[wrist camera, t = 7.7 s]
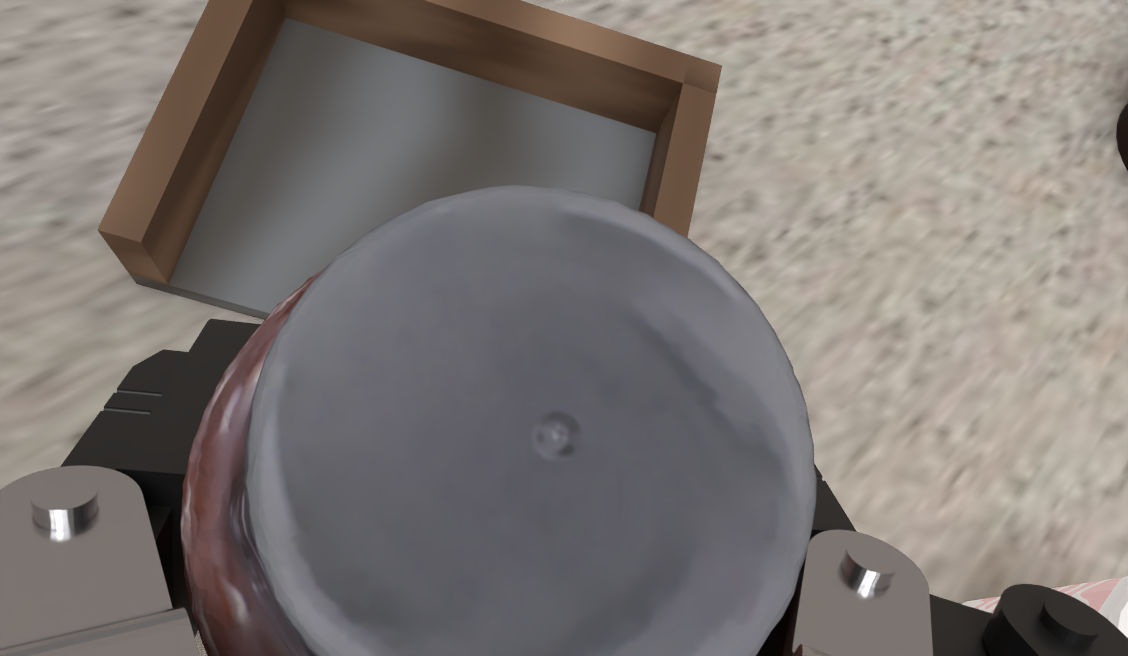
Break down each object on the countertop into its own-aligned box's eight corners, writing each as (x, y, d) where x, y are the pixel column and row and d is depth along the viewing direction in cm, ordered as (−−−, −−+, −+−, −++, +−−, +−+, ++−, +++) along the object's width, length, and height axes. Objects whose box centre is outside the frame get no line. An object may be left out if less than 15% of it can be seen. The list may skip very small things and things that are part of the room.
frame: (136, 283, 28) (97, 230, 24) (267, -4, 32) (251, -87, 29) (623, 420, 29) (656, 389, 26) (685, 128, 34) (722, 65, 30)
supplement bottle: (400, 351, 17) (430, -75, 7) (651, 508, 17) (1060, 316, 7) (206, 622, 15) (-173, 591, 5) (496, 805, 15) (756, 1178, 5)
